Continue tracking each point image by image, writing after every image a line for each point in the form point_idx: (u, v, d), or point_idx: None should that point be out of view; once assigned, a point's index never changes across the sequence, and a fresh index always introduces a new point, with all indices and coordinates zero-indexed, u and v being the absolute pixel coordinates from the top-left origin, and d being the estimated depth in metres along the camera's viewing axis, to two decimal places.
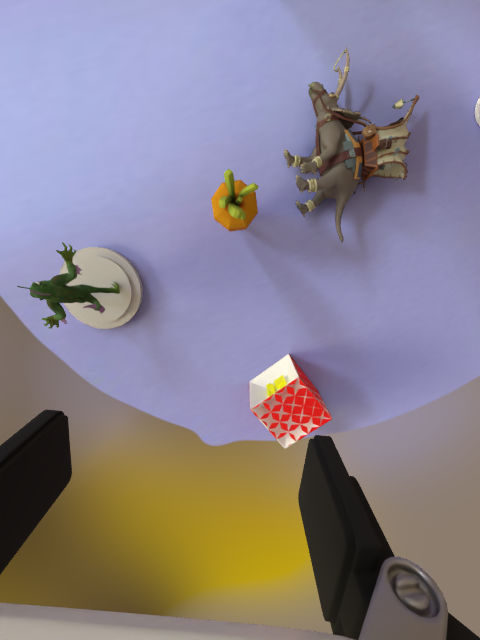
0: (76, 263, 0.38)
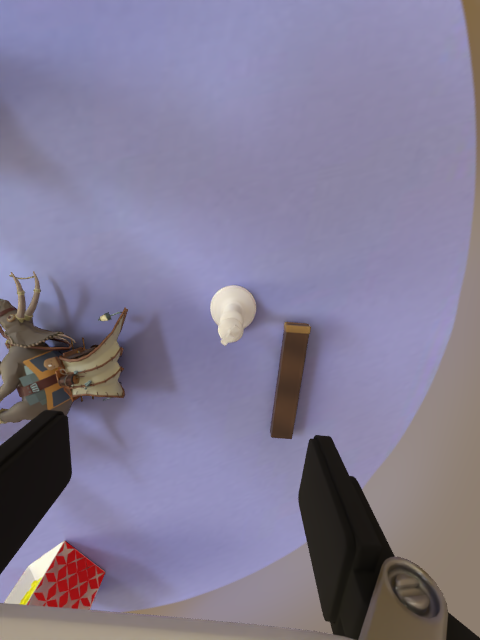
0: None
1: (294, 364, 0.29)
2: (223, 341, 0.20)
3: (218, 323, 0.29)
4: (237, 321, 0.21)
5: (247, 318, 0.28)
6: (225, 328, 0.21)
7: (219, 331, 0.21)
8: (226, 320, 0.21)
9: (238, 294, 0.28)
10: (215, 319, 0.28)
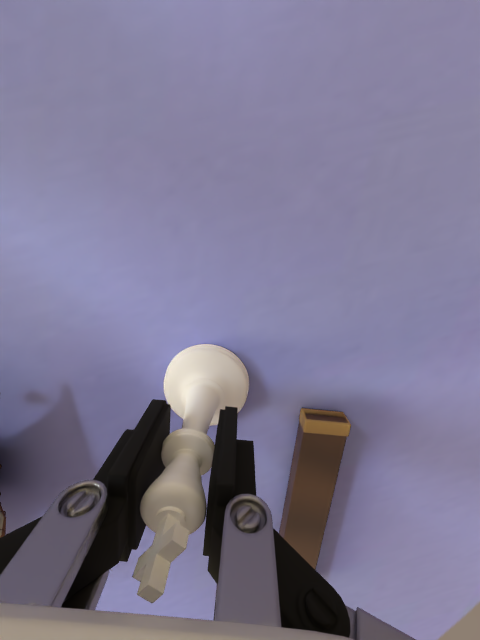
0: None
1: (318, 486, 0.16)
2: (140, 574, 0.07)
3: (178, 413, 0.15)
4: (188, 493, 0.08)
5: (232, 406, 0.15)
6: (156, 512, 0.08)
7: (142, 514, 0.08)
8: (159, 491, 0.08)
9: (214, 364, 0.14)
10: (172, 406, 0.15)
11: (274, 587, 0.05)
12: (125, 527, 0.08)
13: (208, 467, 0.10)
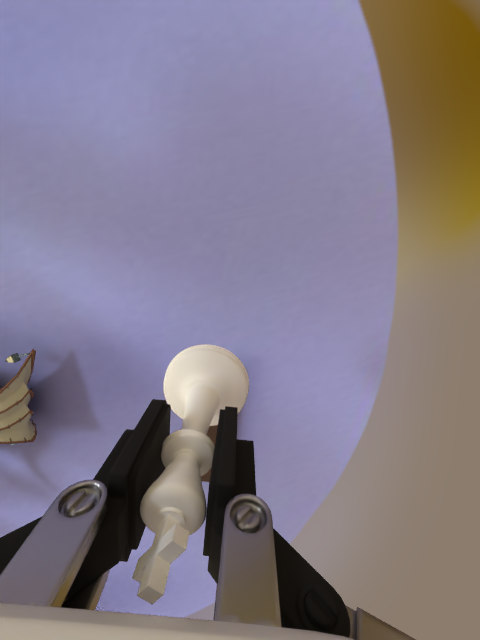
0: None
1: None
2: (140, 575, 0.07)
3: (178, 413, 0.15)
4: (188, 494, 0.08)
5: None
6: (156, 513, 0.08)
7: (142, 515, 0.08)
8: (158, 492, 0.08)
9: (214, 364, 0.14)
10: (172, 406, 0.15)
11: (274, 587, 0.05)
12: (125, 527, 0.08)
13: (208, 468, 0.10)
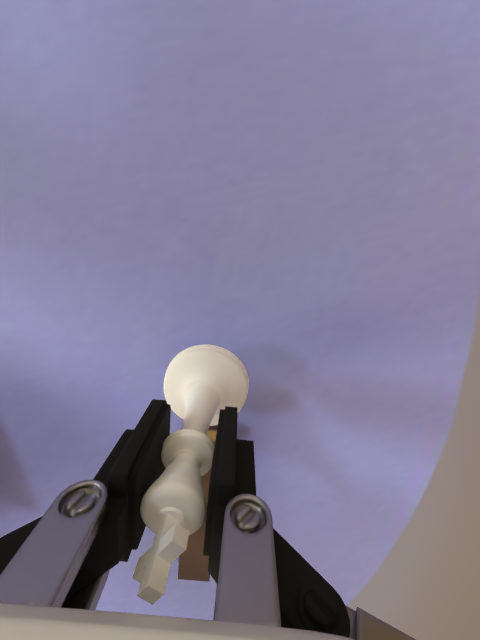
0: None
1: (203, 484, 0.19)
2: (140, 575, 0.07)
3: (178, 413, 0.15)
4: (188, 494, 0.08)
5: None
6: (156, 513, 0.08)
7: (142, 515, 0.08)
8: (159, 492, 0.08)
9: (214, 364, 0.14)
10: (172, 406, 0.15)
11: (274, 587, 0.05)
12: (125, 527, 0.08)
13: (208, 468, 0.10)
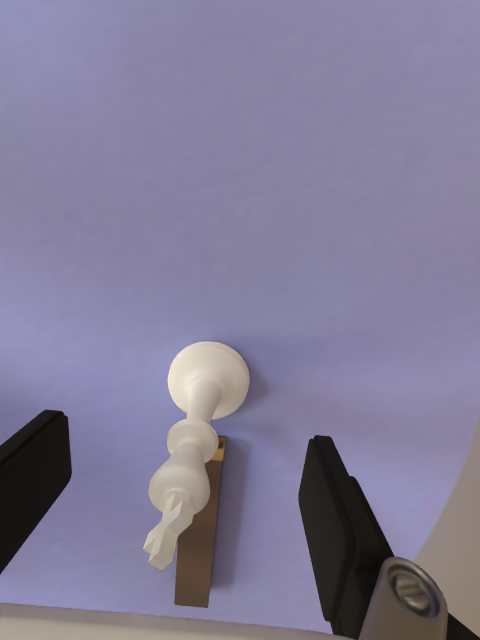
0: None
1: None
2: (150, 547, 0.08)
3: (181, 407, 0.16)
4: (193, 475, 0.09)
5: (233, 401, 0.16)
6: (163, 493, 0.08)
7: (150, 495, 0.09)
8: (166, 473, 0.08)
9: (216, 360, 0.15)
10: (176, 400, 0.16)
11: None
12: None
13: (211, 456, 0.11)
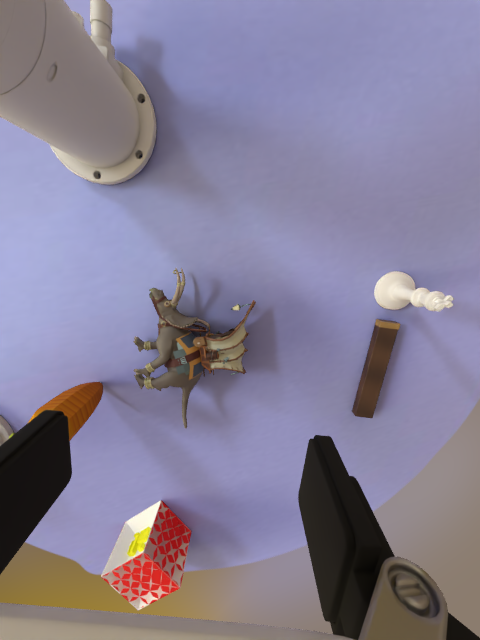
0: None
1: (382, 354, 0.36)
2: (439, 307, 0.26)
3: (382, 302, 0.34)
4: (443, 294, 0.27)
5: None
6: (433, 299, 0.27)
7: (426, 301, 0.27)
8: (434, 293, 0.27)
9: (404, 278, 0.33)
10: (380, 298, 0.34)
11: None
12: None
13: None
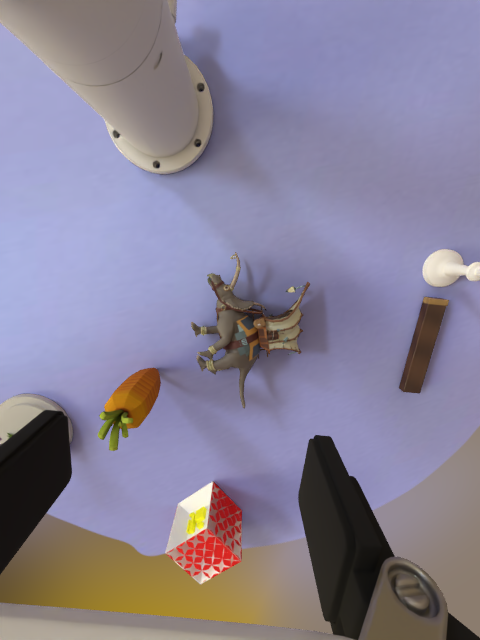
0: (7, 411, 0.41)
1: (431, 331, 0.37)
2: None
3: (431, 279, 0.36)
4: None
5: (456, 275, 0.35)
6: None
7: None
8: None
9: (453, 255, 0.35)
10: (429, 276, 0.35)
11: None
12: None
13: None
